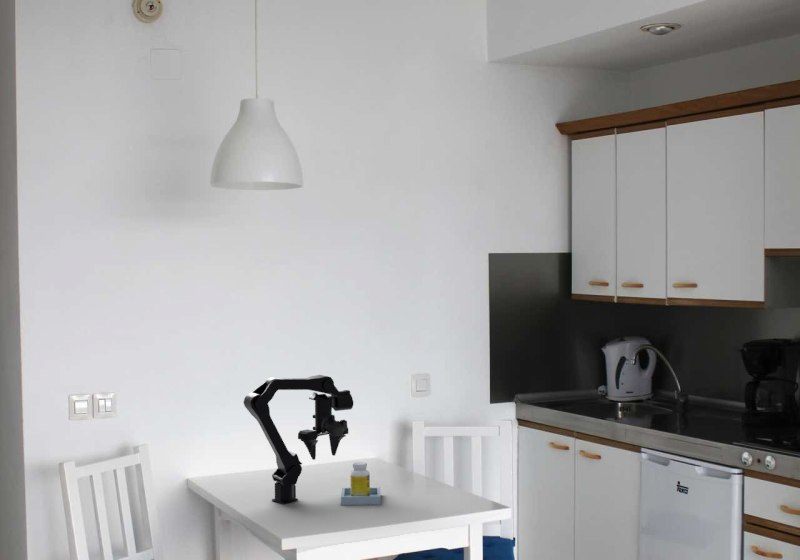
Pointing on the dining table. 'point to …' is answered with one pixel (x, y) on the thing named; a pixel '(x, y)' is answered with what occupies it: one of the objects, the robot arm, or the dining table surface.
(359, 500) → the dish
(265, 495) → the dining table surface
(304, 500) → the dining table surface
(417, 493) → the dining table surface
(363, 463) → the pill bottle
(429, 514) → the dining table surface
